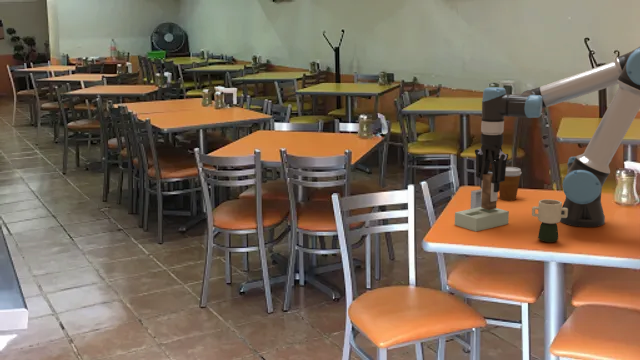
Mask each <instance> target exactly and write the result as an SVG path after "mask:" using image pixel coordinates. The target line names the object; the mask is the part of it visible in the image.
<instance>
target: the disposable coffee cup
mask: <svg viewBox="0 0 640 360" xmlns="http://www.w3.org/2000/svg"><path fill="white" fill-rule="evenodd" d="M521 175H522V170H521V168H519V167H514V166H506V172H505V181H504V182H500V184H499V192H498V193H499V199H500V200H503V201H514V200H516V199H517V196H518V190H519V184H520V179H521Z"/></svg>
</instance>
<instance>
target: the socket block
mask: <svg viewBox="0 0 640 360" xmlns="http://www.w3.org/2000/svg"><path fill="white" fill-rule="evenodd" d="M509 215H510V211H508V210H505V209H501V208H498V207H496V209H491V210H487V209H484V208H481V207H478V208H473V209H471V208H468V209H465V210H461V211H455V212H454V226H458V227H460V228H463V229H466V230H470V231H472V232H481V231H484V230H487V229H492V228H496V227H500V226H504V225H508V224H509V218H510V217H509Z"/></svg>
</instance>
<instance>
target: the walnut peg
mask: <svg viewBox="0 0 640 360" xmlns="http://www.w3.org/2000/svg"><path fill="white" fill-rule="evenodd" d="M492 182H493V175H492V172H488V173H487V174H483V181H482V204H481V208H484V209H487V210H491V209H496V208H497V203H498V200H497V201H493V202H491V201H490V197H491V183H492Z"/></svg>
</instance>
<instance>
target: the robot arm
mask: <svg viewBox="0 0 640 360" xmlns="http://www.w3.org/2000/svg"><path fill="white" fill-rule="evenodd" d="M616 85H618V88H617V90H616V92H615V94H614V95H613V98H612V100H611V102H610V103H609V105H608V107H607V109H606V110H605V112H604V114H603V116H602V118H601V120H600V122H599V124H598V126H597V127H596V129H595V131H594V133H593V135H592V137H591V138H590V141H589V142H588V144H587V146H586V148H585V149H584V152H583V153H581V154H578V155H576V156H570V157H569V158H568V159H567V160H568V161H567V164H566V165H567V173H566V175H565V176H564V178H563V180H562V190H563V193H564V195H565V199H564V202H563V203H562V208H568V216H567V218H561V220H560V222H561V223H563V224H566V225H569V226H572V227H573V226H574V227H578V228H579V227H580V228H597V227H602V226H603V225H604V224H605V223H606V216H605V212H604V209H603V205H602V189H603V186H604V184H605V182H606V181H607V178H608V177H609V176H610V173H611V170H610V166H609V165H610V163H611V162H612V160H613V157H614V156H615V154H616V153H617V150H618V148H619V147H620V145H621V143H622V142H623V140H624V138H625V136H626V134H627V132H628V131H629V129H630V127H631V126H632V124H633V122H634V120H635V118H636V116H637V114H638V113H639V111H640V46H638V47H637V48H635V49H633V50H632V51H628V52H627V53H625V54H623V55H619V56H617V57H616V58H615V60H614V61H611V62H607V63H605V64H603V65H602V64H601V65H600V66H599V65H598V66H596V67H594V68H591V69H587V70H586V71H581V72H579V73H576V74H573V75H570V76H567V77H565V78H561V79H558V80H555V81H553V82H550V83H548V84H544V85H541V86H539V87H535V88H532V89H528V90H525V91H522V93H520V94H510V93H507V91H506V89H505V87H496V86H492V87H491V86H490V87H486V88H484V89H483V92H482V100H481V123H480V125H481V126H480V127H481V128H480V132H481V134H480V144H481V146H480V148H477V149H474V154H475V177H476V178H478V179H479V180H480V186H479V187H480V188H479V189H481V199H482V181H483V174H487V173H489V170H490V166H491V173H492V175H493V182H492V183H491V197H490V201H491V202H493V201H497V202H498V198H499V197H498V193H499V184H500V182H504V181H505V172H506V167H507V160H508V158H509V153H504V151H503V148H502V146H503V144H504V134H503V133H504V129H505V127H504V126H505V117H507V118H508V117H513V118H516V117H517V118H529V119H531V118H532V119H533V118H536V119H538V118H540V117H541V116H542V113H543V109H545V108H548V107H551V106H555V105H557V104H561V103H564V102H566V101H570V100H573V99H576V98H579V97H582V96H585V95H589V94H591V93H594V92H598V91H601V90H604V89H607V88H610V87H614V86H616ZM564 213H565V211H561V215H564Z"/></svg>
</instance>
